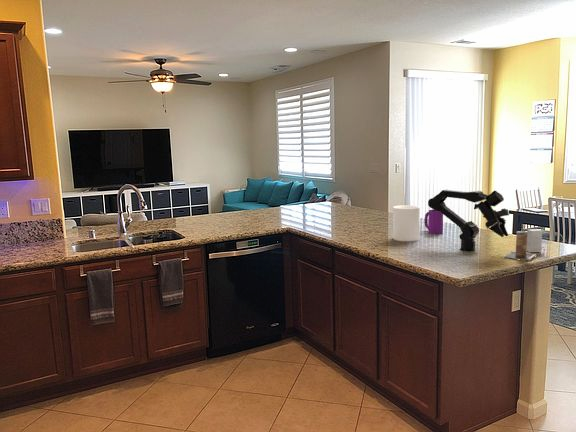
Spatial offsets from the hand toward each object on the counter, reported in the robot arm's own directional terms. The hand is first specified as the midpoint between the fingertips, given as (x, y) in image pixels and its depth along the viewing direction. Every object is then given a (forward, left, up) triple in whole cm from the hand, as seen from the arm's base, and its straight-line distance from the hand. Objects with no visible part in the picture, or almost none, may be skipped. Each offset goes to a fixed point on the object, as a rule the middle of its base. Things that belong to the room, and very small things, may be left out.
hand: (505, 236), depth 246 cm
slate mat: (+8, 0, -10) cm, 13 cm away
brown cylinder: (+9, -2, -9) cm, 13 cm away
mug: (-58, +38, -10) cm, 70 cm away
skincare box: (+10, +16, -10) cm, 21 cm away
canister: (-62, +10, -10) cm, 64 cm away
